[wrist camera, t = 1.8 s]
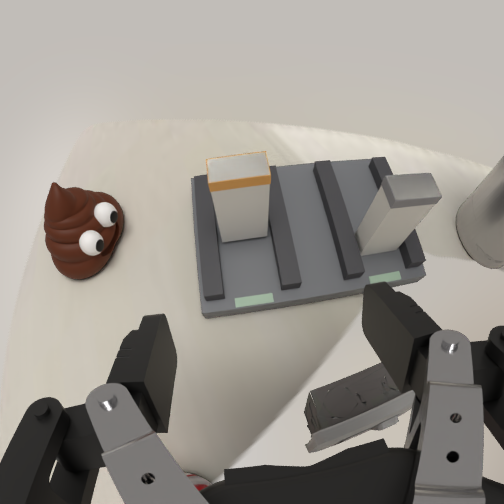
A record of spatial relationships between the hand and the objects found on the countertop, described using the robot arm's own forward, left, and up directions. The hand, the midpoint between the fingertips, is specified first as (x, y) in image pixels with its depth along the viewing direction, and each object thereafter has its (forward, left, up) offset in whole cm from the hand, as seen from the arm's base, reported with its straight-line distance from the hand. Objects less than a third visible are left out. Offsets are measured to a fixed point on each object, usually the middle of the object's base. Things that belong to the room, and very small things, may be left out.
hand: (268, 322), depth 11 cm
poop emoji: (-1, -22, -17) cm, 28 cm away
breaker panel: (-13, -3, -17) cm, 21 cm away
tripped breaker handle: (-9, -7, -14) cm, 18 cm away
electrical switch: (0, +9, -17) cm, 19 cm away
